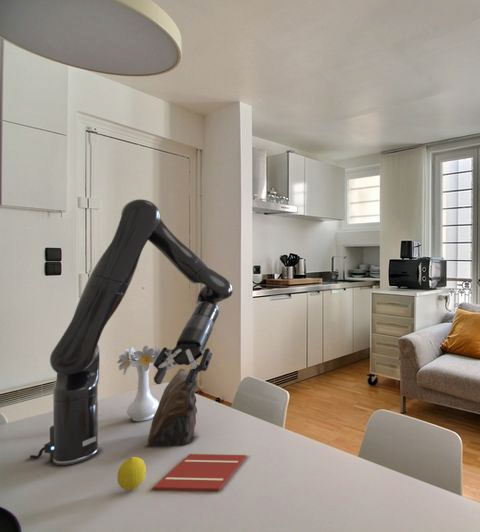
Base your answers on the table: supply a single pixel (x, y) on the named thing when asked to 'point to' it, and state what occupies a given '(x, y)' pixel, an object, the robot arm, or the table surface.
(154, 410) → the flower vase
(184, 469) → the pot holder
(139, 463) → the lemon
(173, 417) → the brown rock
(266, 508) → the table surface
